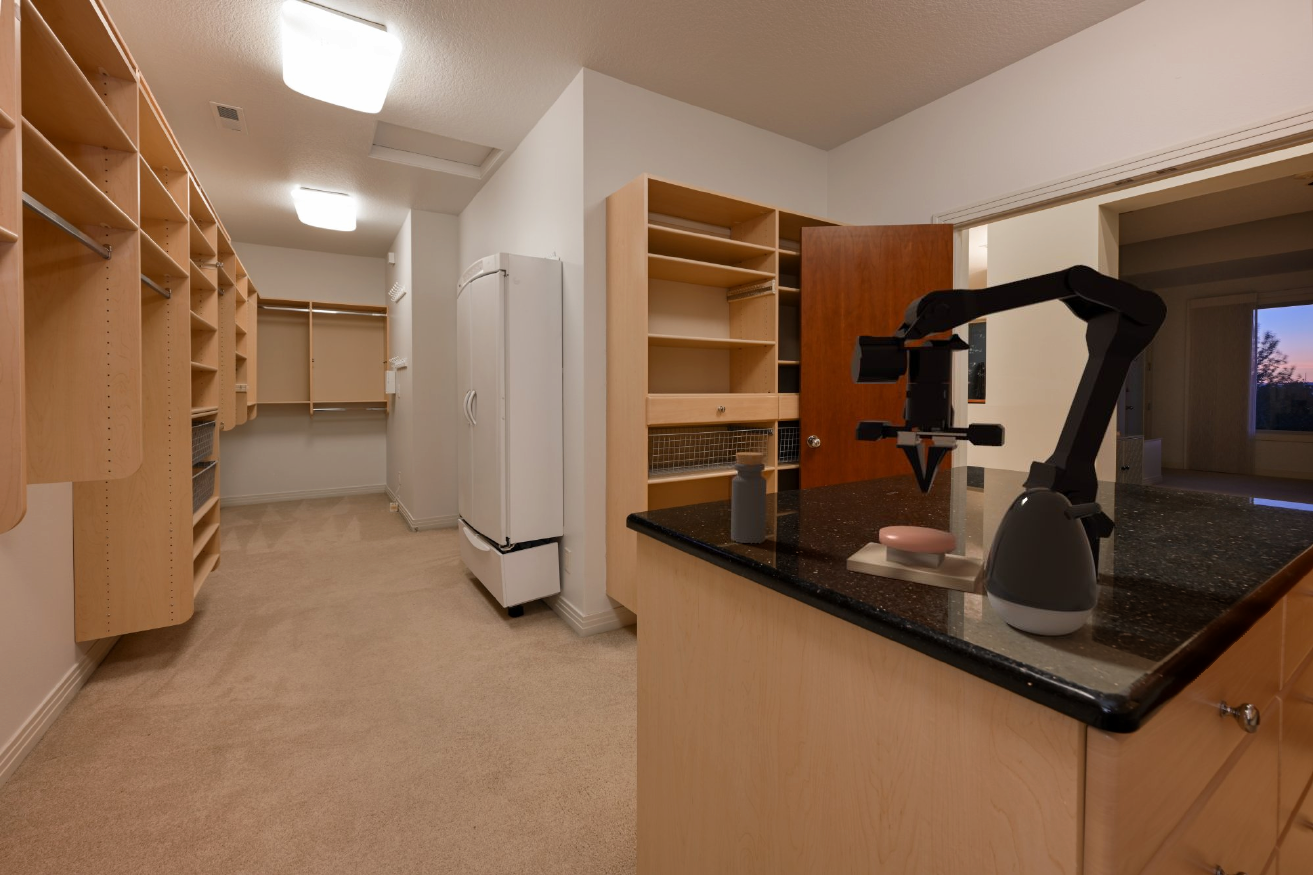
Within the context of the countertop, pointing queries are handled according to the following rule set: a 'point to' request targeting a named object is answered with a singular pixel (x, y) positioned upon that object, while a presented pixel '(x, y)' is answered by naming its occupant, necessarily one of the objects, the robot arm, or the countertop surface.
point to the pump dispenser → (1042, 564)
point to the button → (917, 539)
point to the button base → (918, 566)
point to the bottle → (748, 499)
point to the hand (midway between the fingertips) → (925, 492)
